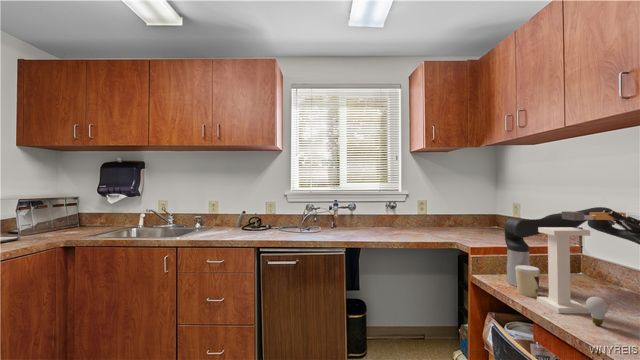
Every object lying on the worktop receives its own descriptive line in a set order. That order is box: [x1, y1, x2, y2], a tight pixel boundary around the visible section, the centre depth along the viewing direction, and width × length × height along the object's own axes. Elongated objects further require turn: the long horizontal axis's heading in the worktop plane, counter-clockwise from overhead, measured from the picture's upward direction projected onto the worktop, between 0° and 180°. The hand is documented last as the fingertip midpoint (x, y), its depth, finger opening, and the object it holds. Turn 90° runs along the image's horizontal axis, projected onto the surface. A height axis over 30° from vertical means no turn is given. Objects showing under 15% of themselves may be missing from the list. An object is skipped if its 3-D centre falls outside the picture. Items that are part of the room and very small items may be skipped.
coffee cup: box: [515, 265, 541, 298], centre depth 138 cm, size 9×9×12 cm
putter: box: [561, 210, 627, 220], centre depth 123 cm, size 6×22×3 cm, turn 89°
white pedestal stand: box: [536, 227, 591, 314], centre depth 123 cm, size 12×14×32 cm
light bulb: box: [585, 296, 610, 327], centre depth 107 cm, size 6×6×10 cm
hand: (607, 212), depth 123 cm, fingers closed on putter, 2 cm apart
